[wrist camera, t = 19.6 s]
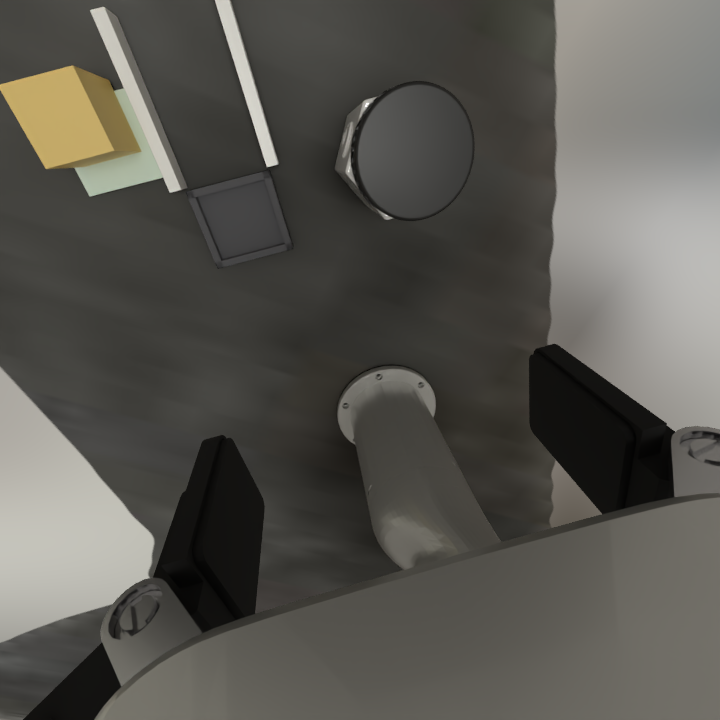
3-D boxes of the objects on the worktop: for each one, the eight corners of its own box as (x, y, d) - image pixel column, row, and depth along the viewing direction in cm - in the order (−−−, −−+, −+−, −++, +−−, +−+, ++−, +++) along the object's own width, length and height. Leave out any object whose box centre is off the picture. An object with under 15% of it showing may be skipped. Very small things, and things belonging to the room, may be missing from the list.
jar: (352, 83, 33) (378, 48, 22) (437, 117, 35) (498, 100, 24) (325, 193, 36) (337, 208, 26) (404, 218, 38) (445, 241, 28)
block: (141, 151, 32) (114, 150, 27) (83, 167, 32) (46, 169, 27) (108, 80, 30) (72, 65, 25) (46, 97, 30) (-3, 85, 25)
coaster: (165, 177, 34) (162, 177, 33) (93, 195, 34) (89, 196, 33) (127, 89, 31) (123, 88, 30) (47, 109, 30) (42, 108, 30)
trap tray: (293, 246, 38) (293, 248, 37) (219, 265, 38) (217, 268, 37) (269, 169, 35) (268, 170, 34) (189, 190, 34) (185, 191, 33)
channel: (279, 164, 34) (278, 164, 33) (177, 190, 34) (169, 192, 32) (227, -11, 29) (222, -23, 27) (104, 20, 28) (90, 10, 27)
